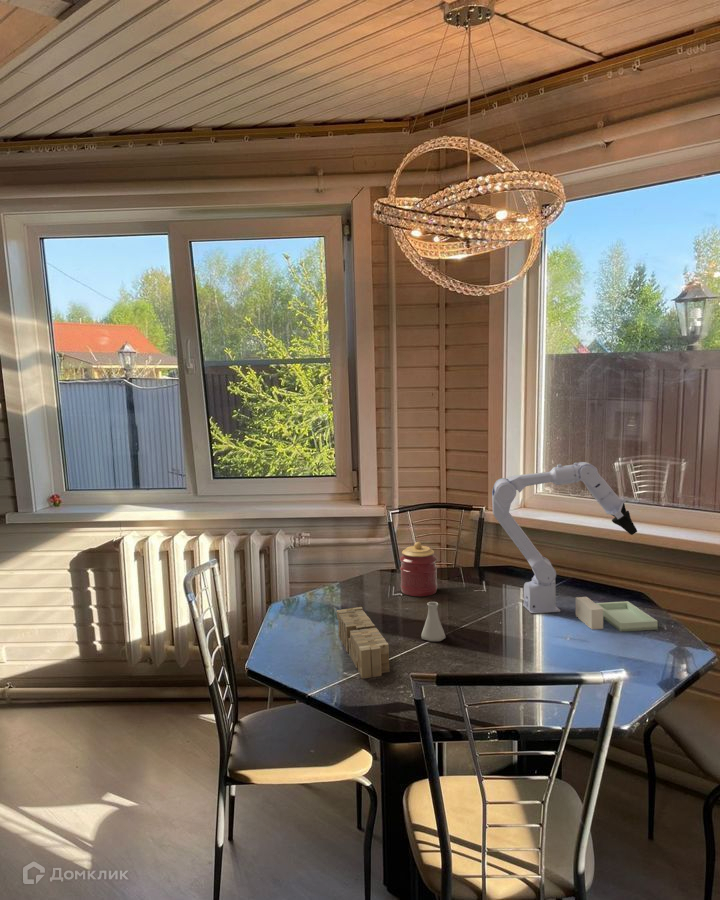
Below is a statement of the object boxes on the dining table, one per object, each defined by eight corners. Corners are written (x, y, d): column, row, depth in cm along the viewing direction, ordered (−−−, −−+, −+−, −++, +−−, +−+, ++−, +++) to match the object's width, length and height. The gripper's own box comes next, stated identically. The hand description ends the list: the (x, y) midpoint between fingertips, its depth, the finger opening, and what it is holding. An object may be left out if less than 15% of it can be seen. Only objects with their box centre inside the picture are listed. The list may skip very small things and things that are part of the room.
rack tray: (620, 631, 180) (620, 623, 180) (593, 611, 197) (594, 603, 197) (657, 629, 181) (657, 621, 181) (627, 608, 198) (627, 601, 198)
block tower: (391, 678, 158) (363, 632, 186) (390, 646, 157) (362, 604, 185) (360, 683, 156) (337, 635, 185) (360, 650, 155) (336, 607, 184)
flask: (448, 633, 183) (447, 600, 182) (443, 643, 176) (442, 608, 175) (424, 631, 185) (423, 598, 184) (418, 640, 179) (417, 606, 178)
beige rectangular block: (591, 629, 183) (591, 609, 182) (575, 616, 194) (575, 597, 193) (603, 629, 183) (603, 609, 182) (586, 615, 194) (586, 596, 193)
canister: (402, 585, 229) (400, 537, 227) (437, 585, 227) (436, 537, 225) (399, 596, 216) (397, 546, 214) (437, 597, 214) (436, 546, 213)
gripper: (619, 493, 186) (648, 529, 186) (612, 481, 200) (639, 514, 200) (598, 507, 188) (627, 542, 188) (593, 494, 202) (620, 527, 202)
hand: (632, 529), depth 194 cm, fingers open, 7 cm apart
